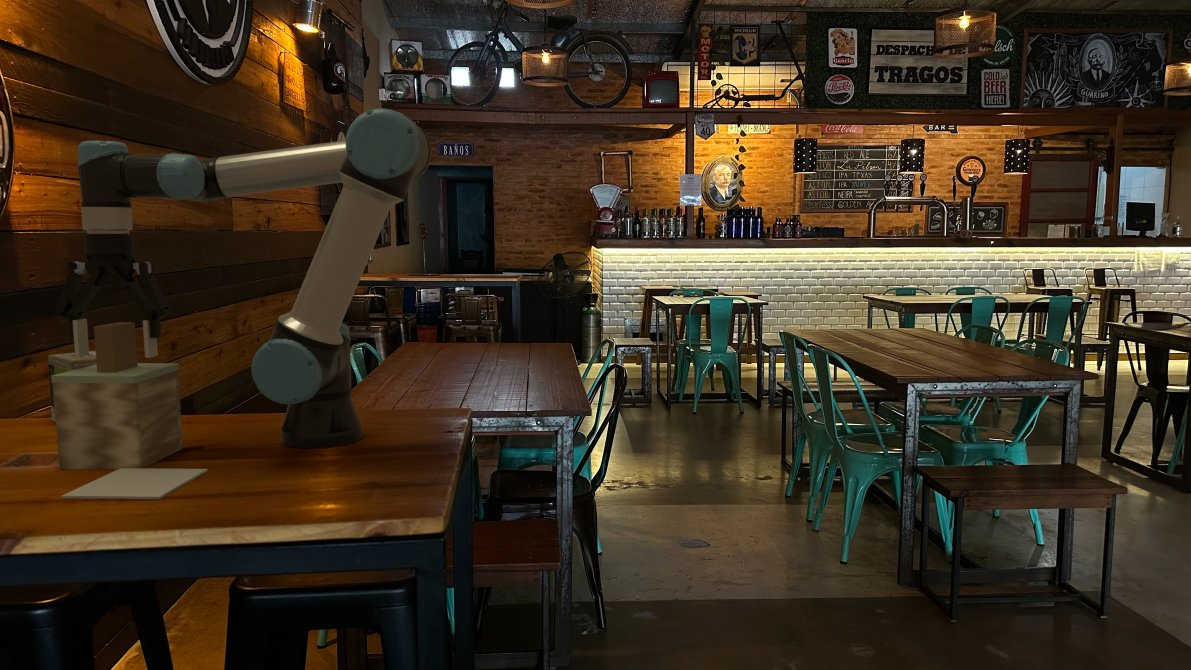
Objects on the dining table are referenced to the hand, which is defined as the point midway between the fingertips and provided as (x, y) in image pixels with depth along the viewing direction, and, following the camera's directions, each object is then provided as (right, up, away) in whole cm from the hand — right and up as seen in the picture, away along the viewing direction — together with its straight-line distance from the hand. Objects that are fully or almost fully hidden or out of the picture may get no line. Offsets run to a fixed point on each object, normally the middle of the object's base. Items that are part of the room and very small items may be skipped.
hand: (116, 356), depth 146 cm
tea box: (-24, -15, +31) cm, 42 cm away
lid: (0, -5, +1) cm, 5 cm away
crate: (0, -18, +2) cm, 18 cm away
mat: (+11, -20, -13) cm, 26 cm away
